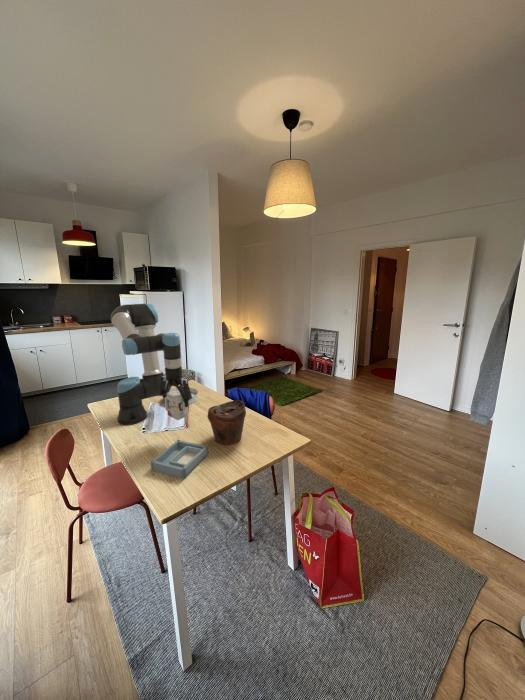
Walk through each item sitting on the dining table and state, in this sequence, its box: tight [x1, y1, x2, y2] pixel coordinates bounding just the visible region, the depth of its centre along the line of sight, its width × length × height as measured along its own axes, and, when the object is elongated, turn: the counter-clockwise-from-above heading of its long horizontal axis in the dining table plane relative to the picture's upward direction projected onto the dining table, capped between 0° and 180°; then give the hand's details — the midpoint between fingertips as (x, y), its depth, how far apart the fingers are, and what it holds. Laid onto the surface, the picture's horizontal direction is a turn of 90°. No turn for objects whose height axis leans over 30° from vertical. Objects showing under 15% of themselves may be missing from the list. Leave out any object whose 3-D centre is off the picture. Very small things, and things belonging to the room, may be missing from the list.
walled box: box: [150, 439, 209, 480], centre depth 123 cm, size 16×18×4 cm
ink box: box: [166, 390, 187, 421], centre depth 137 cm, size 9×5×12 cm, turn 50°
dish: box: [163, 387, 199, 406], centre depth 189 cm, size 22×22×5 cm
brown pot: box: [207, 399, 247, 446], centre depth 140 cm, size 18×20×18 cm
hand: (176, 411), depth 138 cm, fingers closed on ink box, 9 cm apart
